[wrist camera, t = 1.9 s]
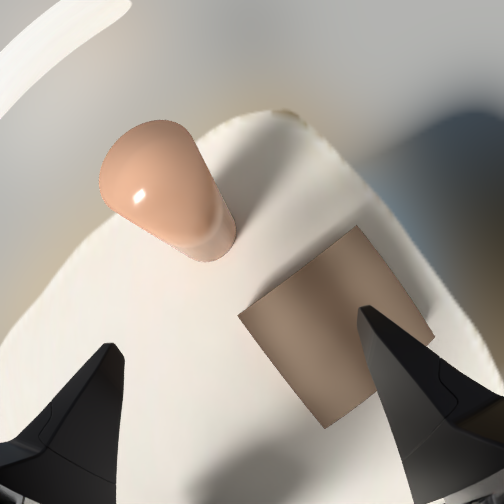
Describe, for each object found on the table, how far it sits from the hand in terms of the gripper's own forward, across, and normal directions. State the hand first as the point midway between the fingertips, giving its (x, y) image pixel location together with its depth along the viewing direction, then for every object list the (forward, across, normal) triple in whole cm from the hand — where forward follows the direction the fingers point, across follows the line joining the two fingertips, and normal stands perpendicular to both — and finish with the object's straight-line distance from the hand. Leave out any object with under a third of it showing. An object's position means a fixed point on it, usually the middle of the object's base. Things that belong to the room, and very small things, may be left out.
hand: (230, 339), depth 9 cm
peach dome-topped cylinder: (+15, +3, +4) cm, 16 cm away
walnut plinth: (+8, -6, +10) cm, 15 cm away
